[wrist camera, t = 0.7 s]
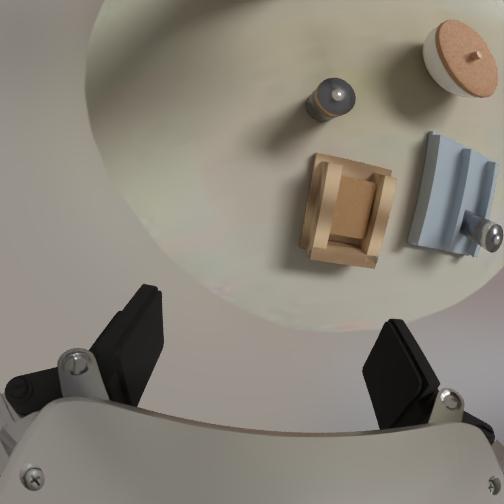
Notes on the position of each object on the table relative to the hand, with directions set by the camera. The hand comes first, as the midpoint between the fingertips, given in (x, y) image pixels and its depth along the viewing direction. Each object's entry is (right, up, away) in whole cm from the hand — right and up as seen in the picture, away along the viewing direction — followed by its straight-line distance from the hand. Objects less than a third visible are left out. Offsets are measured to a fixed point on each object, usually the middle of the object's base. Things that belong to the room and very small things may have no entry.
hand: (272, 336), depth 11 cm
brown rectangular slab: (+11, +9, +21) cm, 25 cm away
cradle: (+11, +9, +23) cm, 27 cm away
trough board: (+29, +11, +21) cm, 37 cm away
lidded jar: (+26, +30, +14) cm, 42 cm away
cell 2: (+31, +8, +21) cm, 38 cm away
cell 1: (+8, +21, +18) cm, 29 cm away
